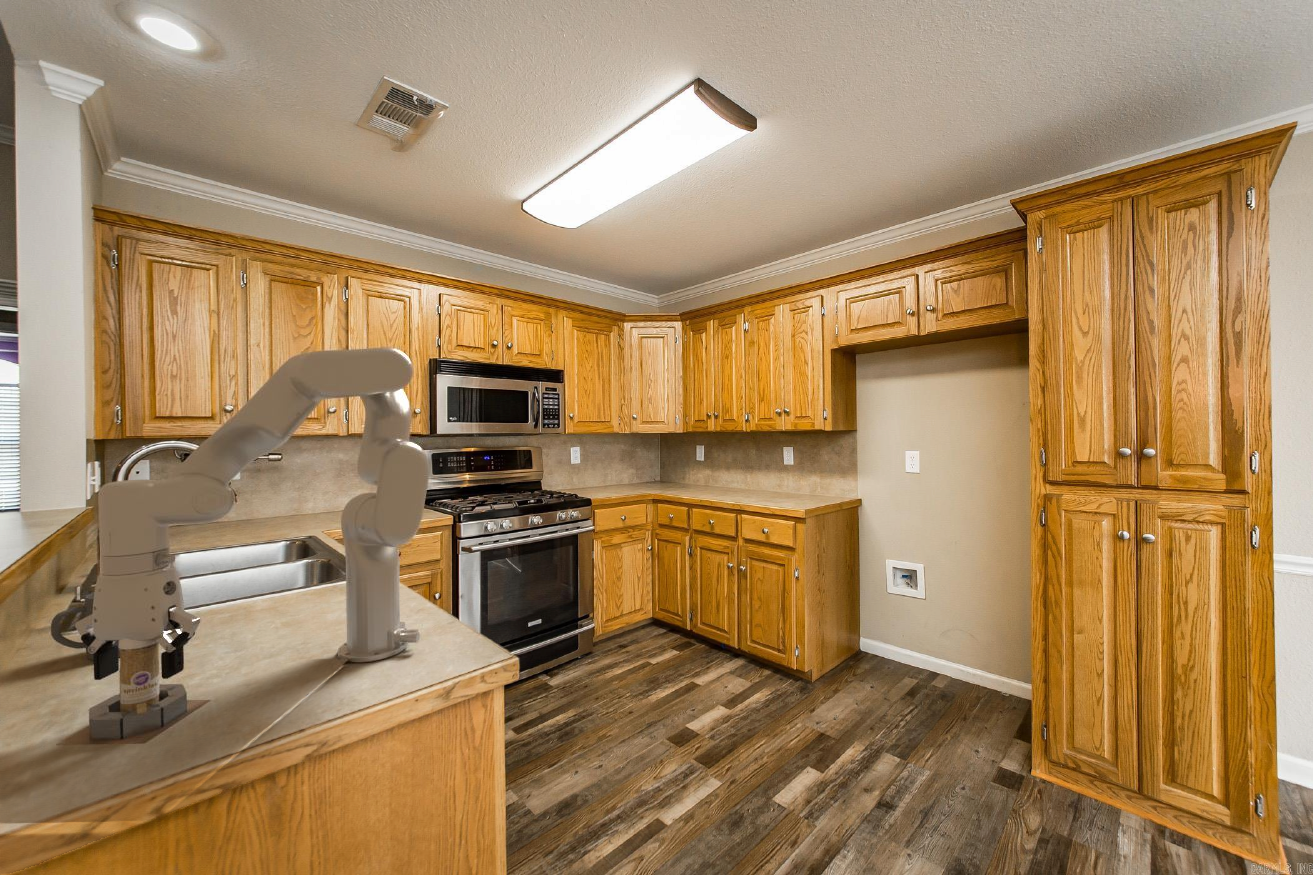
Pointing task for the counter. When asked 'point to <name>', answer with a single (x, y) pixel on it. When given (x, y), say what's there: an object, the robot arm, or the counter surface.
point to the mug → (87, 609)
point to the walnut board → (84, 736)
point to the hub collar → (136, 715)
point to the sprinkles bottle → (138, 673)
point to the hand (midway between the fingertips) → (140, 675)
